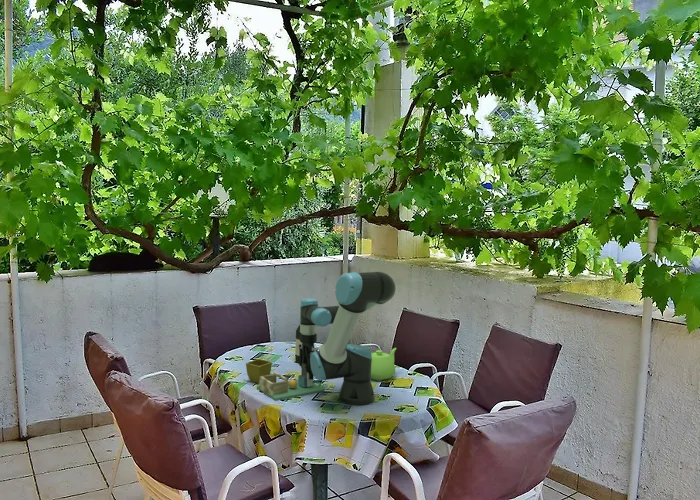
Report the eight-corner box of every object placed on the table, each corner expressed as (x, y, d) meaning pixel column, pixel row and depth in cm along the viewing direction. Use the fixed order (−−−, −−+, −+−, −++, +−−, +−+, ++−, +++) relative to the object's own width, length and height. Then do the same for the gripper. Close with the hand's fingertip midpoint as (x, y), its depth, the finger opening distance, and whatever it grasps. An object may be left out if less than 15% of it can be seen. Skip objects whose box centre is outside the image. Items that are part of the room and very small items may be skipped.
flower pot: (259, 385, 267) (259, 366, 266) (245, 382, 272) (245, 362, 271) (272, 380, 275) (272, 361, 274) (257, 377, 279) (258, 358, 278)
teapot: (384, 369, 299) (385, 344, 298) (406, 376, 288) (407, 350, 287) (352, 377, 284) (353, 350, 282) (375, 385, 273) (376, 357, 272)
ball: (298, 388, 261) (298, 380, 261) (290, 390, 259) (290, 381, 258) (294, 386, 264) (294, 377, 264) (286, 387, 262) (286, 378, 262)
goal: (287, 393, 256) (288, 378, 255) (271, 396, 251) (271, 381, 251) (275, 385, 266) (275, 371, 265) (259, 388, 261) (259, 374, 261)
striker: (313, 386, 265) (314, 364, 264) (303, 387, 262) (304, 365, 261) (308, 383, 269) (308, 361, 268) (298, 384, 266) (298, 362, 265)
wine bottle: (314, 361, 309) (315, 304, 306) (304, 365, 302) (306, 307, 299) (301, 358, 313) (303, 302, 311) (291, 362, 306) (293, 305, 304)
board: (324, 391, 261) (324, 389, 261) (275, 400, 248) (275, 398, 248) (304, 380, 276) (304, 378, 276) (256, 388, 263) (256, 386, 263)
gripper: (325, 336, 258) (324, 388, 260) (306, 328, 273) (305, 378, 275) (310, 338, 254) (309, 391, 256) (292, 330, 269) (291, 380, 271)
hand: (307, 384), depth 266 cm, fingers closed on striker, 4 cm apart
